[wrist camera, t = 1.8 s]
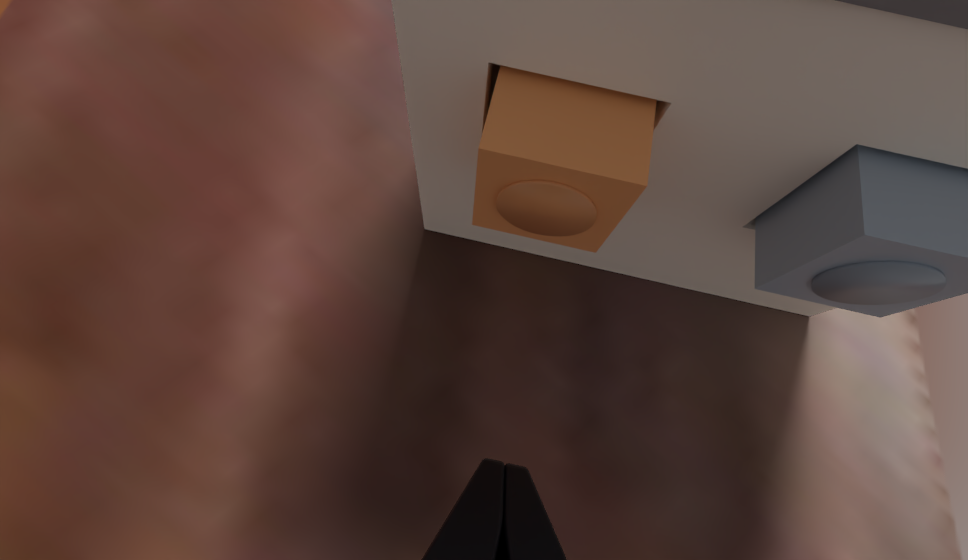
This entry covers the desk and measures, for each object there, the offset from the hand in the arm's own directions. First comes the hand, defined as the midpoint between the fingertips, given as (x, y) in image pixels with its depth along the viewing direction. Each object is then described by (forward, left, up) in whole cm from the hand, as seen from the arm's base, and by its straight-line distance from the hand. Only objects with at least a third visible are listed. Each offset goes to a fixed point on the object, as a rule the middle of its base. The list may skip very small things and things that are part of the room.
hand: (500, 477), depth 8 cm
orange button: (+4, -8, -5) cm, 10 cm away
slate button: (-4, -13, -5) cm, 15 cm away
